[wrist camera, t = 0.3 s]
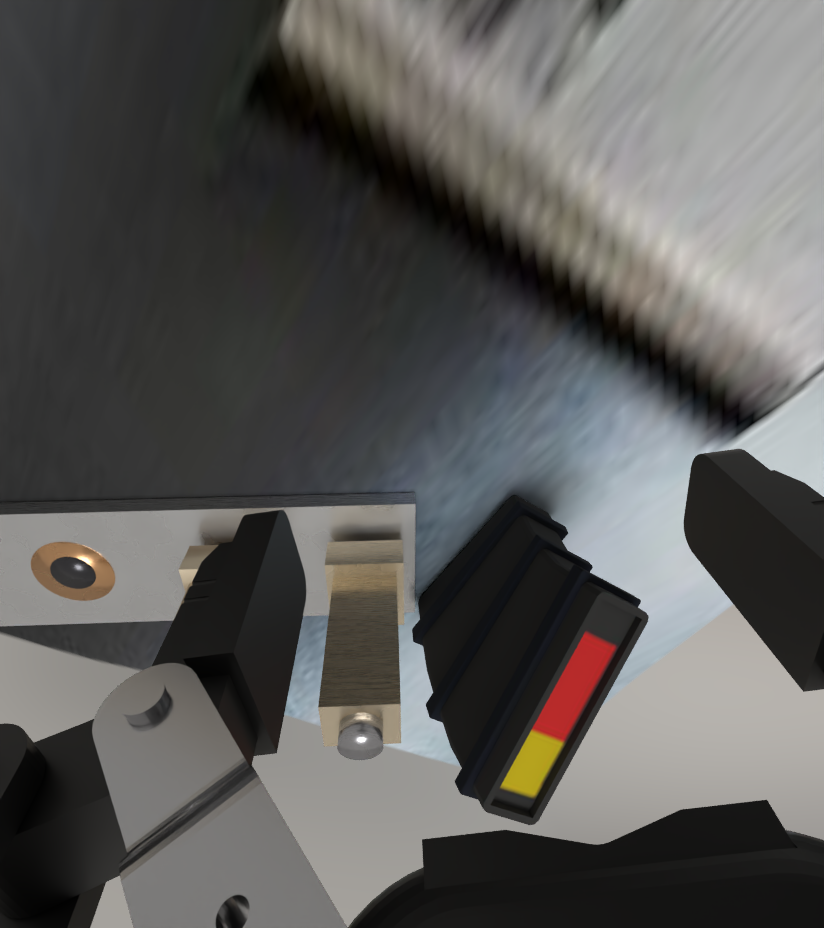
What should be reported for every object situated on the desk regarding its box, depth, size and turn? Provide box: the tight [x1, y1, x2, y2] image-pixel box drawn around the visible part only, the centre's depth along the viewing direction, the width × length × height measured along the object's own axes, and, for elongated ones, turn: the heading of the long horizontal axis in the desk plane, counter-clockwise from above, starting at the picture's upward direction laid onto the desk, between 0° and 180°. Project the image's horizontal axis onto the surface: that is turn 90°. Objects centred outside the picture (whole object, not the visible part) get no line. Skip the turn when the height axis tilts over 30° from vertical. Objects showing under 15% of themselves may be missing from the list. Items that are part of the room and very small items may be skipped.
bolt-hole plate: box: [0, 492, 415, 760], centre depth 28 cm, size 9×28×13 cm, turn 90°
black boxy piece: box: [412, 495, 649, 825], centre depth 30 cm, size 4×13×15 cm, turn 147°
